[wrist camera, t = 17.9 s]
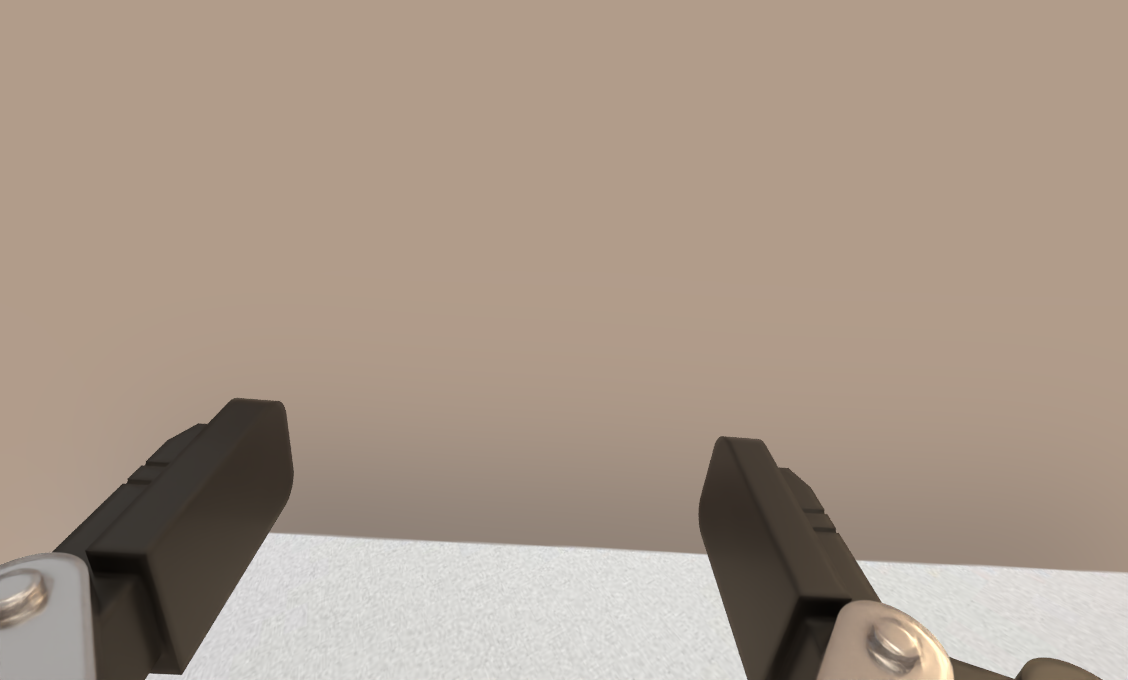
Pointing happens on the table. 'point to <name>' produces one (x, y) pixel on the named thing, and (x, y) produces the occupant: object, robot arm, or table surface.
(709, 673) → the table surface
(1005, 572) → the table surface
